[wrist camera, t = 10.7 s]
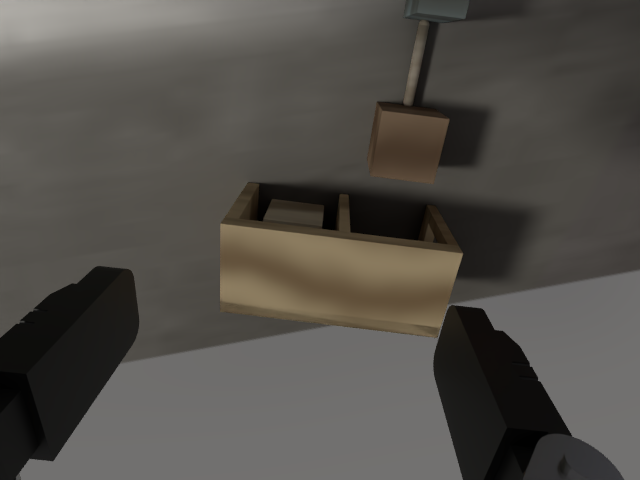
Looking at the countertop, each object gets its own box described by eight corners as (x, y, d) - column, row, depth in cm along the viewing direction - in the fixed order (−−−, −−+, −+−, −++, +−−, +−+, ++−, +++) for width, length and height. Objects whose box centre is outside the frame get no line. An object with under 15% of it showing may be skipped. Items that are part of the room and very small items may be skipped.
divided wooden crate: (248, 182, 36) (220, 223, 28) (435, 205, 36) (463, 253, 28) (245, 255, 40) (220, 311, 31) (417, 276, 40) (437, 337, 31)
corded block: (399, -32, 29) (412, -49, 23) (466, -23, 29) (494, -38, 23) (367, 159, 35) (371, 180, 29) (422, 166, 35) (436, 189, 30)
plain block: (272, 198, 37) (263, 218, 33) (324, 204, 37) (322, 226, 33) (269, 245, 39) (260, 269, 35) (318, 250, 39) (315, 276, 35)
